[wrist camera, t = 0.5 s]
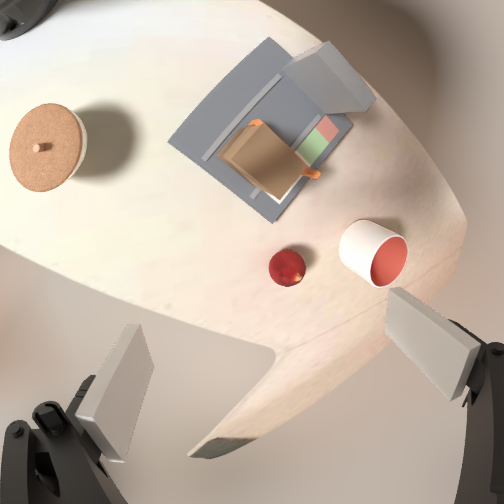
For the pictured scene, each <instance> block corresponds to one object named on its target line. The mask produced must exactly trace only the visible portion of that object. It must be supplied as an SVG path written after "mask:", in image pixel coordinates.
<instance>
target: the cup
mask: <svg viewBox="0 0 504 504" xmlns="http://www.w3.org/2000/svg"><path fill="white" fill-rule="evenodd" d="M339 255H340V258H341V260H342V262H343V263H344V264H345V265H346V266H347V267H348V268H350V269H351V270H353V271H354V272H355V273H357V274H358V275H359V276H361V277H362V278H363V279H365V280H366V281H368V282H369V283H370V284H372V285H373V286H374V287H377V288H383V287H386V286H388V285H390V284H392V283H393V282H394V281H395V280H396V279H397V278H398V277H399V275H400V274H401V273H402V271H403V269H404V267H405V264H406V262H407V258H408V245H407V242H406V240H405V238H404V237H402V236H401V235H399V234H397V233H395V232H393V231H391V230H389V229H386V228H384V227H382V226H380V225H378V224H376V223H374V222H371V221H369V220H359V221H356V222H354V223H352V224H351V225H350V226H349V227H348V228H347V229H346V230H345V232H344V233H343V235H342V237H341V240H340V244H339Z"/></svg>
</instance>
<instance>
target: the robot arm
mask: <svg viewBox="0 0 504 504" xmlns="http://www.w3.org/2000/svg"><path fill="white" fill-rule="evenodd" d="M57 1H58V0H0V40H9V39H12V38H15V37H17V36H19V35H21V34H23V33H25V32H26V31H28V30H29V29H31V28H32V27H33V26H35V25H36V24H37V23H38V22H39V21H40V20H41V19H43V18H44V17H45V16H46V15H47V13H48V12H49V11H50V10H51V9H52V8H53V6H54V5H55V4H56V2H57ZM384 333H385V334H386V335H387V336H388V337H389V338H390V339H391V340H392V341H393V342H394V343H395V344H396V345H397V346H398V347H399V348H400V349H401V350H402V351H403V352H404V353H405V354H406V355H407V356H408V357H409V358H410V359H411V360H412V361H413V363H414V364H415V365H416V366H417V367H418V368H419V369H420V370H421V371H422V372H423V373H424V374H425V375H426V376H427V377H428V378H429V379H430V381H431V382H432V383H433V384H434V385H435V386H436V387H437V388H438V389H439V390H440V391H441V392H442V394H443V395H444V396H445V397H446V398H447V399H448V400H449V401H452V400H454V399H455V398H457V397H459V396H461V395H462V393H463V390H464V388H465V386H466V385H467V386H468V387H469V388H470V389H469V392H468V394H467V396H466V398H465V400H464V402H463V405H462V407H464V406H465V404H466V402H468V405H467V426H466V439H465V448H464V457H463V463H462V469H461V475H460V480H459V485H458V490H457V494H456V499H455V503H454V504H504V344H502V343H499V342H491V343H489V344H486V343H485V342H483V341H482V340H481V339H479V338H478V337H477V336H475V335H474V334H473V333H471V332H469V331H468V330H467V329H466V328H464V327H463V326H461V325H460V324H459V323H457V322H455V321H452V320H449V319H446V318H445V317H443V316H442V315H441V314H439V313H438V312H436V311H435V310H433V309H432V308H431V307H429V306H428V305H426V304H425V303H423V302H422V301H420V300H419V299H417V298H416V297H414V296H413V295H411V294H410V293H408V292H407V291H405V290H404V289H402V288H401V287H396V288H391V289H389V291H388V302H387V312H386V321H385V329H384ZM153 369H154V364H153V362H152V359H151V356H150V353H149V350H148V347H147V344H146V341H145V337H144V334H143V331H142V328H141V325H140V324H131V325H130V324H129V325H127V326H126V327H125V329H124V330H123V332H122V334H121V335H120V337H119V338H118V340H117V342H116V343H115V345H114V347H113V348H112V350H111V352H110V353H109V355H108V356H107V358H106V360H105V362H104V363H103V365H102V367H101V368H100V370H99V372H98V374H97V375H90V376H89V377H88V378H87V379H86V380H84V381H83V383H82V385H81V386H80V388H79V391H77V393H76V395H75V397H74V398H73V400H72V402H71V403H70V405H69V407H68V409H67V410H66V412H65V413H64V411H63V409H62V408H61V406H60V405H59V404H58V403H57V402H54V401H48V402H44V403H42V404H40V405H39V406H37V407H36V408H35V409H34V412H33V413H32V418H33V420H34V421H35V423H36V424H37V425H38V427H39V428H40V429H31V428H30V426H29V425H28V424H27V422H25V421H23V420H17V421H14V422H12V423H11V424H10V425H9V426H8V427H7V429H6V432H5V438H4V446H3V454H2V463H1V478H0V479H1V480H0V504H128V503H127V502H126V501H125V499H124V497H123V496H122V494H121V493H120V491H119V490H118V489H117V487H116V485H115V484H114V482H113V480H112V479H111V478H110V475H109V474H108V472H107V470H106V469H105V467H104V465H103V464H102V462H101V461H100V460H99V458H100V456H101V453H103V455H104V456H105V457H106V459H107V460H108V461H114V462H120V463H125V461H126V457H127V454H128V450H129V447H130V443H131V440H132V436H133V433H134V429H135V426H136V422H137V419H138V416H139V413H140V409H141V406H142V403H143V400H144V397H145V394H146V390H147V387H148V384H149V381H150V378H151V375H152V372H153Z"/></svg>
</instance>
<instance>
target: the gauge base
mask: <svg viewBox="0 0 504 504" xmlns="http://www.w3.org/2000/svg"><path fill="white" fill-rule="evenodd" d="M375 99H376V97H375V96H374V94H373V93H372V92H371V90H370V89H369V88H368V86H367V85H366V84H365V82H364V81H363V80H362V78H361V77H360V76H359V75H358V73H357V72H356V71H355V70H354V69H353V67H352V66H351V65H350V64H349V63H348V62H347V60H346V59H345V58H344V57H343V56H342V54H341V53H340V52H339V51H338V50H337V49H336V48H335V47H334V46H333V45H332V44H331V42H330V41H327V42H325V43H322V44H320V45H318V46H316V47H314V48H312V49H310V50H308V51H306V52H304V53H302V54H300V55H298V56H296V57H294V58H292V57H291V56H290V55H289V54H288V53H287V52H286V51H285V50H284V49H282V48H281V47H280V46H279V45H278V44H277V43H276V42H275V41H274V40H272V39H271V38H270V37H268V38H267V39H266V40H265V41H263V42H262V43H261V44H260V45H259V46H258V47H256V48H255V49H254V50H253V51H252V52H251V53H250V54H249V55H248V56H247V57H245V58H244V59H243V60H242V61H241V62H240V63H239V64H238V65H237V66H236V67H235V68H234V69H233V70H232V71H231V72H230V73H229V74H228V75H227V76H226V77H225V78H224V79H223V80H222V81H221V82H220V83H219V84H218V85H217V86H216V87H215V88H214V89H213V90H212V91H211V92H210V93H209V94H208V95H207V96H206V97H205V98H204V100H203V101H202V102H201V103H200V104H199V105H198V106H197V107H196V108H195V110H194V111H193V112H192V113H191V114H190V115H189V116H188V118H187V119H186V120H185V121H184V122H183V123H182V125H181V126H180V127H179V128H178V129H177V131H176V132H175V133H174V134H173V135H172V137H171V138H170V139H169V140H168V143H169V144H171V145H172V146H173V147H175V148H176V149H177V150H179V151H180V152H181V153H183V154H184V155H185V156H187V157H188V158H189V159H191V160H192V161H193V162H195V163H196V164H197V165H198V166H200V167H201V168H202V169H204V170H205V171H206V172H208V173H209V174H210V175H211V176H213V177H214V178H215V179H217V180H218V181H219V182H220V183H222V184H223V185H224V186H226V187H227V188H228V189H229V190H231V191H232V192H233V193H234V194H236V195H237V196H238V197H239V198H241V199H242V200H243V201H244V202H246V203H247V204H248V205H249V206H251V207H252V208H253V209H254V210H256V211H257V212H258V213H259V214H261V215H262V216H263V217H264V218H265V219H267V220H268V221H269V222H271V223H272V224H273V223H274V221H275V220H276V219H277V218H278V216H279V215H280V214H281V213H282V211H283V210H284V209H285V208H286V206H287V205H288V204H289V203H290V201H291V200H292V199H293V198H294V196H295V195H296V194H297V193H298V191H299V190H300V189H301V188H302V187H303V185H304V184H305V183H306V182H307V180H308V179H309V178H310V177H307V176H304V175H300V176H299V177H298V179H297V180H296V181H295V182H294V183H293V185H292V186H291V187H290V188H289V190H288V191H287V192H286V193H285V195H284V196H283V197H282V198H281V200H278V199H277V198H276V197H275V196H273V195H271V194H269V193H267V192H265V191H262V190H260V189H258V188H256V187H254V186H253V185H251V184H250V183H249V182H248V181H247V180H245V179H244V178H243V177H242V176H240V175H239V174H238V173H237V172H236V171H234V170H233V169H232V168H231V167H230V166H228V165H227V164H226V163H225V162H223V161H222V160H221V159H220V158H218V157H217V156H216V155H217V154H218V153H219V152H220V150H221V149H222V148H223V147H224V146H225V144H226V143H227V142H228V141H229V140H230V139H231V137H232V136H233V135H234V134H235V133H236V132H237V130H238V129H239V128H245V127H248V126H247V125H248V124H249V123H250V122H251V121H252V120H256V119H260V120H261V121H262V122H263V123H264V124H265V125H266V126H268V127H269V128H270V129H271V130H272V131H273V132H274V133H275V134H276V135H277V136H278V137H279V138H280V139H281V140H282V141H283V142H284V143H286V144H287V145H288V146H289V147H290V148H291V149H292V150H293V151H294V152H295V153H296V154H297V155H298V156H299V157H300V158H301V159H302V160H303V161H304V162H305V163H306V164H307V165H308V166H309V168H310V169H312V170H316V169H317V168H318V167H319V165H320V164H321V163H322V162H323V160H324V159H325V158H326V157H327V156H328V154H329V153H330V152H331V151H332V149H333V148H334V147H335V146H336V144H337V143H338V142H339V141H340V139H341V138H342V137H343V136H344V134H345V133H346V132H347V131H348V130H349V128H350V127H351V126H352V125H353V124H352V123H351V122H350V120H349V119H348V118H347V117H346V115H345V114H344V113H347V112H366V111H367V109H368V108H369V107H370V106H371V104H372V103H373V102H374V101H375Z"/></svg>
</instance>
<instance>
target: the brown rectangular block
mask: <svg viewBox="0 0 504 504" xmlns="http://www.w3.org/2000/svg"><path fill="white" fill-rule="evenodd" d="M216 156H217V157H218V158H220V159H221V160H222V161H223V162H225V163H226V164H227V165H228V166H230V167H231V168H232V169H233V170H234V171H236V172H237V173H238V174H239V175H240V176H242V177H243V178H244V179H245V180H247V181H248V182H249V183H250V184H251V185H253V186H254V187H256V188H258V189H260V190H262V191H265V192H267V193H269V194H271V195H273V196H275V197H276V198H277V199H278V200H281V198H282V197H283V196H284V195H285V193H286V192H287V191H288V190H289V188H290V187H291V186H292V185H293V183H294V182H295V181H296V180H297V179H298V177H299V176H300V175H301V174H302V172H303V171H304V170H305V169H306V168H307V165H306V164H305V163H304V162H303V161H302V160H301V159H300V158H299V157H298V156H297V155H296V154H295V153H294V152H293V151H292V150H291V149H290V148H289V147H288V146H287V145H286V144H285V143H284V142H283V141H282V140H281V139H280V138H279V137H278V136H277V135H276V134H275V133H274V132H272V131H271V130H270V129H269V128H268V127H267V126H266V125H265V124H264V123H262V124H261V125H257V126H251V127H245V128H239V129H238V130H237V132H236V133H235V134H234V135H233V136H232V137H231V139H230V140H229V141H228V142H227V143H226V144H225V146H224V147H223V148H222V149H221V150H220V152H219V153H218V154H217V155H216Z"/></svg>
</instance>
